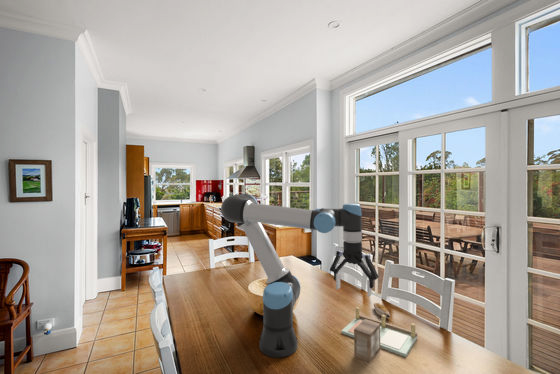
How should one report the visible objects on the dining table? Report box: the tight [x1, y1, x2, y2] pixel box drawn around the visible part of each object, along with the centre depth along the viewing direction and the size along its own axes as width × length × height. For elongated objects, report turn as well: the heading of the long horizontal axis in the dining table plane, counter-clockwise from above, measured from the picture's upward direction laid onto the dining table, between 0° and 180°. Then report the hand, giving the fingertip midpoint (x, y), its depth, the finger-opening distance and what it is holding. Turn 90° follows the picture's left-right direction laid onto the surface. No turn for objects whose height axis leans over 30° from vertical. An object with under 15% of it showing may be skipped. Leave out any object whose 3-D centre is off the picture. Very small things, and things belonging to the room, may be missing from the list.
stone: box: [373, 302, 391, 319], centre depth 135 cm, size 5×14×4 cm, turn 2°
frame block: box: [353, 319, 381, 363], centre depth 104 cm, size 10×6×10 cm, turn 140°
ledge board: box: [341, 306, 418, 358], centre depth 115 cm, size 26×16×6 cm, turn 50°
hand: (353, 291), depth 115 cm, fingers open, 13 cm apart
